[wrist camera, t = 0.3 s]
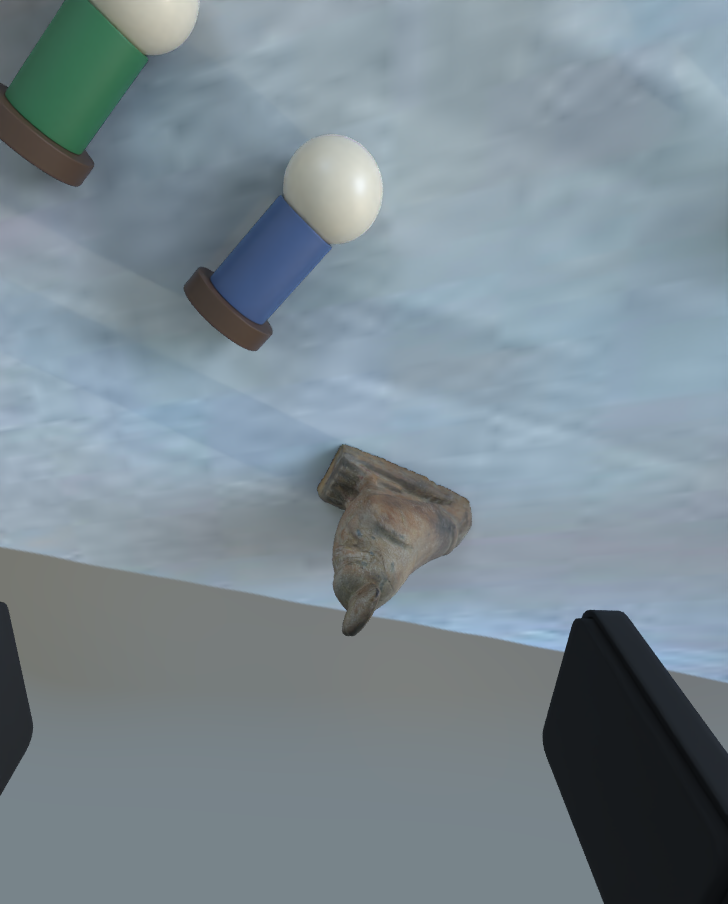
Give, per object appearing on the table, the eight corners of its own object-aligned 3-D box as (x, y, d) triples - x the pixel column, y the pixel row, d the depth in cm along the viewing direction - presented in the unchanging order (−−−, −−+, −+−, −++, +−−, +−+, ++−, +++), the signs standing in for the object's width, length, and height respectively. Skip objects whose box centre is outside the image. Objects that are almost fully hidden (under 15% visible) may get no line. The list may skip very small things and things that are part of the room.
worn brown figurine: (318, 477, 44) (239, 604, 27) (355, 422, 42) (294, 522, 26) (441, 558, 45) (438, 731, 28) (482, 507, 43) (506, 659, 26)
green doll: (144, -92, 28) (102, -160, 23) (231, 5, 30) (210, -38, 25) (10, 112, 31) (-53, 92, 26) (95, 189, 33) (51, 184, 28)
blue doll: (331, 117, 32) (330, 99, 27) (398, 192, 34) (409, 189, 29) (195, 279, 35) (172, 290, 30) (263, 340, 37) (251, 360, 32)
